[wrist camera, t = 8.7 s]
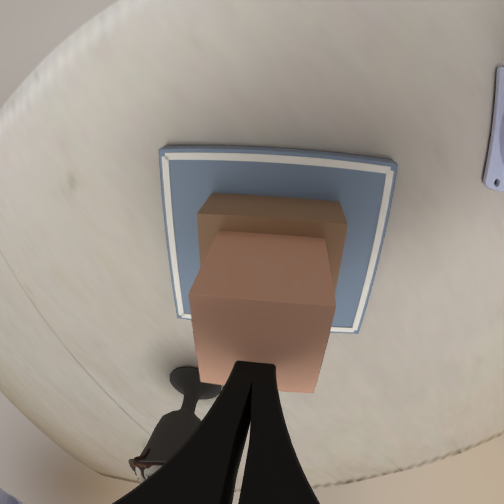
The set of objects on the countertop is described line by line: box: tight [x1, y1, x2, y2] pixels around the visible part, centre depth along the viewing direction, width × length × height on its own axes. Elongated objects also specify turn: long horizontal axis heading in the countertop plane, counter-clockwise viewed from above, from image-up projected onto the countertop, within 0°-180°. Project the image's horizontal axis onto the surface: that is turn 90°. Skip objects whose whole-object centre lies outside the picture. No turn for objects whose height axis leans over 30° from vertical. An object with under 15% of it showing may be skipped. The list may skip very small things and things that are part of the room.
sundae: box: [129, 367, 221, 483], centre depth 21 cm, size 7×7×15 cm
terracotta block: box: [188, 230, 336, 393], centre depth 14 cm, size 5×5×5 cm
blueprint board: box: [159, 145, 398, 334], centre depth 18 cm, size 13×12×4 cm
